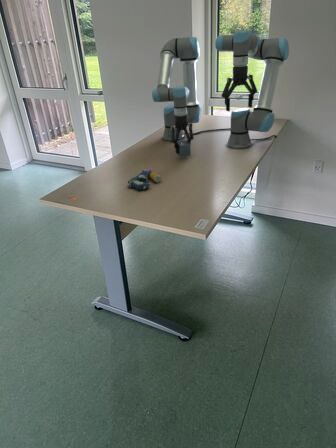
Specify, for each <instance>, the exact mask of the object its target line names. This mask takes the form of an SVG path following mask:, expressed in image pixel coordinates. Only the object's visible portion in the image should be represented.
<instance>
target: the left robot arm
mask: <svg viewBox="0 0 336 448" xmlns="http://www.w3.org/2000/svg"><path fill="white" fill-rule="evenodd" d="M200 57H201V49H200V43H199V39H198V38H197V36H188V37H187V36H186V37H175V38H171V39H169V40H168V41H167V42H166V43H165V44H164V45H163V46H162V48H161V51H160V54H159V60H160V64H159V65H160V66H159V72H158V78H157V85H156V88H154V89H152V91H151V97H152V100H153V101H152V102H153V103H154V102H155V103H167V102H173V104H169V105H166V106H165V107H164V108H163V121H164V130H163V135H162V139H163V140H164V141H167V142H171V143H172V144H173V145H174V149H176V150H175V154H176V153H177V154H176V155H178V154H179V147H178V143H177V141H181V140H183V139H184V137H186V139H185V141H187V142H188V143H190V147H191V146H192V143H191V142H192V141H193V140H194V135H198V134H201V133H206V132H215V131H228V130H230V131H231V127H230V128H229V127H228V128H227V127H226V128H216V129H207V130H200V131H197V132H193V124H198V123H199V122H200V121H201V114H202V105H200V102H198V100H197V74H196V73H197V69H196V63H197V62H198V59H199V58H200ZM176 59H179V62H180V63H181V64H182V83H183V86H176V87H171V88H170V83H171V75H172V70H173V63H174V61H175V60H176ZM187 127H188V129H187Z"/></svg>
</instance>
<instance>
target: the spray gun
mask: <svg viewBox="0 0 336 448" xmlns="http://www.w3.org/2000/svg"><path fill="white" fill-rule="evenodd" d="M149 179H150V180H152V181H153V182H154V183H160V182H161V180H162V177H161V175H159V174H158V173H157V172H155V171H152V169H141V170H140V171H139V172H138V173H137V174H136V175H134V176H133V177H132V178H130V179H129V180H128V181H127V184H126V187H129V188H134V189H135V190H138V191H141V190H142V191H143V190H147V189H148V188H149V187H150V182H149Z"/></svg>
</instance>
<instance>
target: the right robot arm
mask: <svg viewBox="0 0 336 448" xmlns="http://www.w3.org/2000/svg"><path fill="white" fill-rule="evenodd" d="M214 44H215V50H216V51H218V52H229V53H232V77H227V78H226V83H225V86H224V88H223V91H222V93H221V95H220V96H221V98H224V105H225V111H226V112H231V113H230V128H231V130H230V135H229V137H228V139H227V146H228V147H229V148H232V149H246V148H249V147H251V145H252V141H264V140H269V139H272V138H274V137H275V138H277V135H276V134H272V135H270V136H268V137H264V138H251V136H250V133H249V131H250V132H258V133H267V132H269V131H270V130H271V129H272V127H273V125H274V121H275V113H274V112H273V111H274V110H273V109H272V103H273V99H274V94H275V90H276V85H277V81H278V76H279V71H280V67H281V66H283V64H284V61H286V60H288V58H289V54H290V43H289V41H288V39H287V38H286V37H272V38H271V37H270V38H260V36H259V35H258V34H257V33H255V32H251V33H250V30H247V29H244V30H243V29H242V30H236V31H234V33H233V34H222V35H217V36H216V38H215V43H214ZM249 59H253V60H256V61H262V63H263V64H264V68H263V69H264V70H263V74H262V79H261V82H260V88H259V93H258V88H257V86H256V83H255V80H254V74H251V73H249V66H248V65H249ZM247 80H248V81H247ZM240 86H244V87H245V89H246V90H247V91H248V93H249V94H248V99H247V102H248V103H247V107H241V108H236V109H234V110H232V111H231V98H230V97H231V96H232V93H233V92H234V90H235V89H236V88H237V87H240ZM256 93H258V98H257V101H256V105H255V106H254V107H253V101H254V100H255V99H254V98H255V95H256ZM251 108H253V110H250V109H251Z"/></svg>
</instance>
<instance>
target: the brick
mask: <svg viewBox="0 0 336 448" xmlns="http://www.w3.org/2000/svg"><path fill="white" fill-rule="evenodd" d="M177 143H178V147H179V154H177V153H176V152H175V154H176V155H177V156H179V157H180V158H183V157H189V156H191V154H192V153H191V152H192V151H191V146H190V143H188V142H187V141H186V139H181V140H178V141H177ZM174 149H175V148H174ZM175 151H176V149H175Z"/></svg>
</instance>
